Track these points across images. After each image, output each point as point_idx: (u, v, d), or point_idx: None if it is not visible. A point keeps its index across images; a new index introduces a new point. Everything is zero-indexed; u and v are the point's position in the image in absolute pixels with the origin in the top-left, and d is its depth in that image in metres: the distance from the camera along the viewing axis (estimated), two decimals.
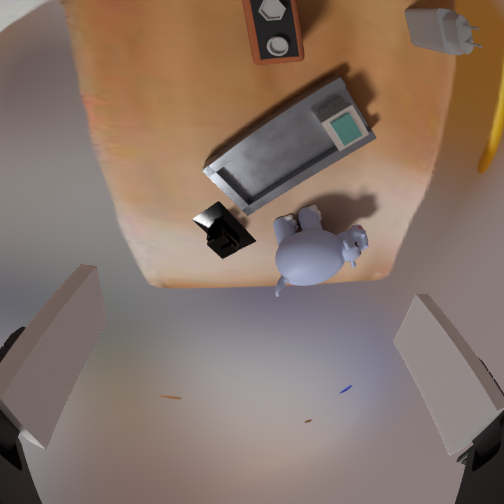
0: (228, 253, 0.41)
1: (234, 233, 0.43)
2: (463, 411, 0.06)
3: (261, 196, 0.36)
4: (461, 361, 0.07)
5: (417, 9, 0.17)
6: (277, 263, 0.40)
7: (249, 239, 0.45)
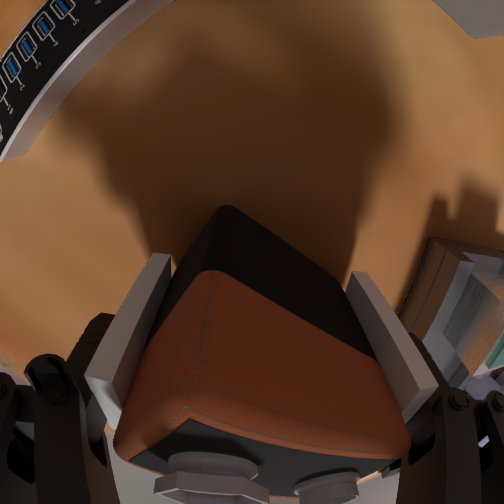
0: None
1: None
2: None
3: None
4: (387, 336, 0.08)
5: None
6: None
7: None
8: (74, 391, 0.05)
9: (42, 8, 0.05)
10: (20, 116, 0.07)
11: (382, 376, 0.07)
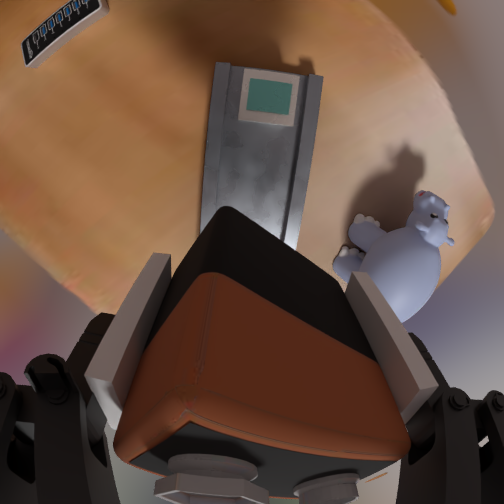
0: None
1: None
2: None
3: None
4: (386, 335, 0.08)
5: None
6: None
7: None
8: (74, 391, 0.05)
9: (60, 9, 0.14)
10: (41, 50, 0.16)
11: (382, 377, 0.07)
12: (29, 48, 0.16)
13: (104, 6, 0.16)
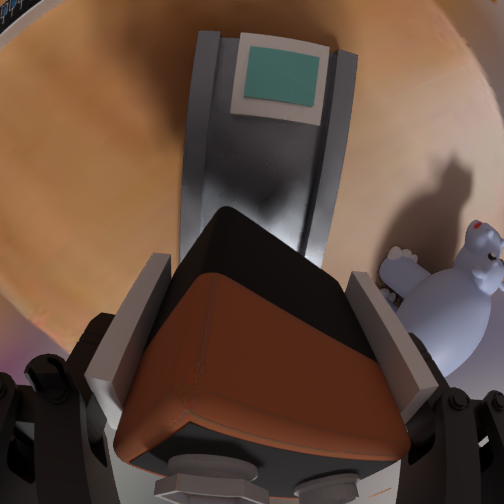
0: None
1: None
2: None
3: None
4: (386, 335, 0.08)
5: None
6: None
7: None
8: (74, 391, 0.05)
9: None
10: None
11: (382, 378, 0.07)
12: None
13: None
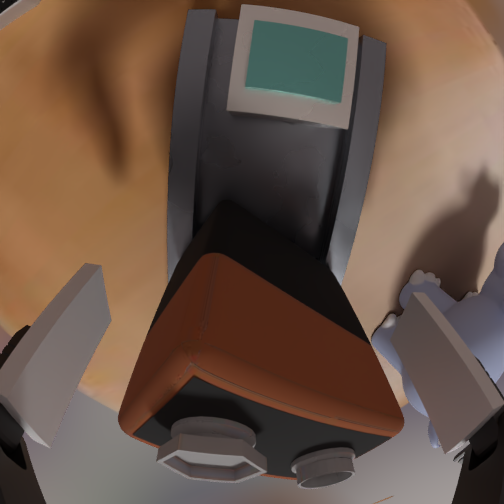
0: None
1: None
2: (459, 409, 0.06)
3: None
4: (457, 359, 0.07)
5: None
6: None
7: None
8: None
9: None
10: None
11: (375, 358, 0.08)
12: None
13: None
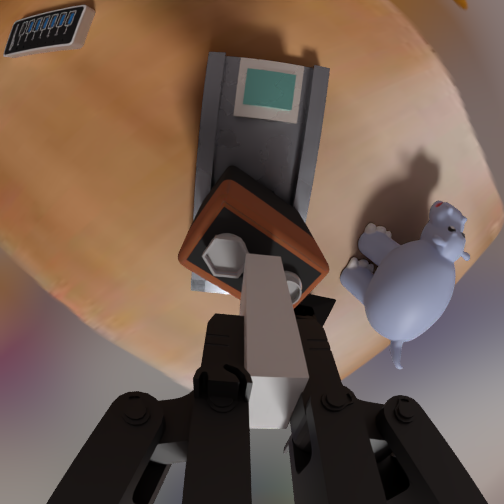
0: None
1: (302, 308, 0.29)
2: None
3: None
4: None
5: None
6: (375, 330, 0.24)
7: (327, 303, 0.29)
8: (244, 400, 0.05)
9: (51, 12, 0.12)
10: (18, 49, 0.14)
11: (314, 241, 0.16)
12: (13, 37, 0.12)
13: (77, 41, 0.15)
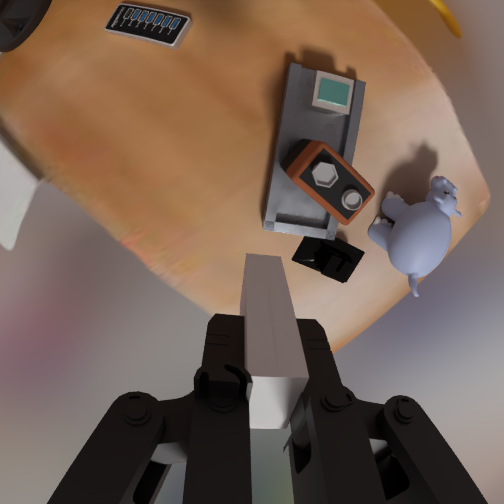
0: (346, 272, 0.34)
1: (341, 253, 0.37)
2: None
3: None
4: None
5: None
6: (397, 266, 0.32)
7: (358, 253, 0.38)
8: (244, 400, 0.06)
9: (158, 11, 0.22)
10: (120, 30, 0.23)
11: None
12: (117, 17, 0.22)
13: (176, 44, 0.25)
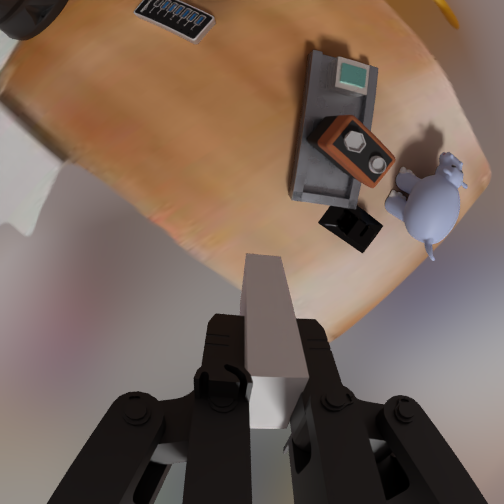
0: (368, 238, 0.36)
1: (363, 222, 0.39)
2: None
3: (351, 183, 0.35)
4: None
5: None
6: (413, 233, 0.34)
7: (377, 225, 0.40)
8: (244, 400, 0.06)
9: (186, 5, 0.24)
10: (148, 16, 0.24)
11: None
12: (148, 3, 0.23)
13: (197, 40, 0.27)
